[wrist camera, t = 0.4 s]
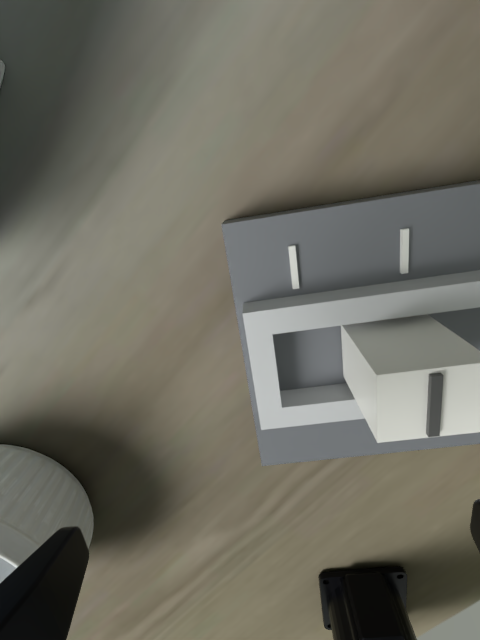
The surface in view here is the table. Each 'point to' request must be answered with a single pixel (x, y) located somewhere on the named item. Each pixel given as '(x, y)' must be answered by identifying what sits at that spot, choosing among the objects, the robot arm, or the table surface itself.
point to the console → (345, 306)
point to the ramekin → (36, 504)
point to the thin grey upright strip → (1, 71)
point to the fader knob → (412, 378)
